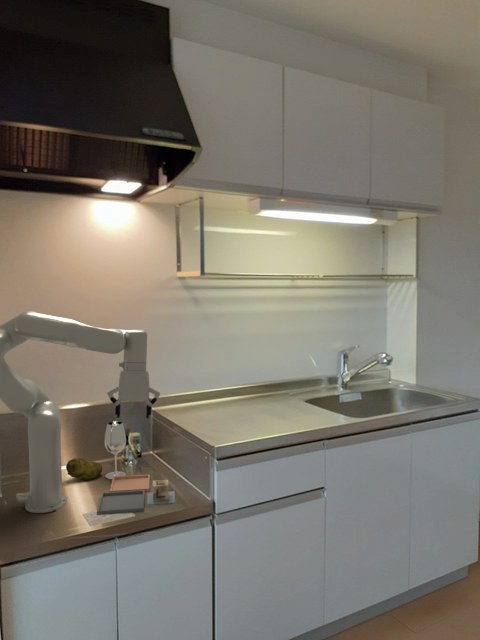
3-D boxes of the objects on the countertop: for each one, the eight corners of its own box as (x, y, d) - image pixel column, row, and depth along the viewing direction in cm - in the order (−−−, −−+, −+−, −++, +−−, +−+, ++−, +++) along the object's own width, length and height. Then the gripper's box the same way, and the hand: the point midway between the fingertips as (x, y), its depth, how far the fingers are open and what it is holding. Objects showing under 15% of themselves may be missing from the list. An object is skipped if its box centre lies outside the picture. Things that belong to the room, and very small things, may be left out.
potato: (104, 480, 181) (103, 458, 181) (66, 485, 177) (66, 463, 176) (101, 472, 189) (101, 451, 189) (65, 477, 184) (65, 455, 184)
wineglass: (120, 470, 191) (119, 419, 190) (130, 476, 185) (129, 423, 184) (101, 475, 186) (100, 422, 184) (111, 481, 180) (110, 427, 179)
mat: (147, 506, 160) (147, 504, 160) (147, 494, 169) (147, 493, 169) (175, 504, 161) (175, 502, 161) (174, 493, 170) (174, 491, 170)
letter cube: (153, 501, 162) (152, 486, 162) (153, 495, 167) (152, 480, 167) (168, 500, 163) (168, 485, 163) (168, 494, 168) (167, 479, 168)
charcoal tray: (97, 515, 153) (97, 511, 153) (102, 497, 167) (102, 492, 167) (143, 512, 155) (143, 508, 155) (144, 494, 169) (144, 490, 169)
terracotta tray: (110, 495, 168) (110, 491, 168) (113, 480, 181) (113, 476, 181) (149, 492, 170) (149, 488, 170) (149, 478, 183) (149, 474, 183)
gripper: (106, 367, 162) (105, 419, 163) (160, 368, 165) (158, 420, 165) (109, 364, 170) (108, 414, 171) (161, 365, 172) (159, 414, 173)
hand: (133, 417), depth 168 cm, fingers open, 9 cm apart
